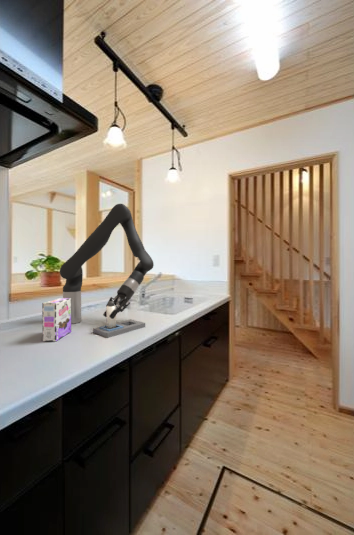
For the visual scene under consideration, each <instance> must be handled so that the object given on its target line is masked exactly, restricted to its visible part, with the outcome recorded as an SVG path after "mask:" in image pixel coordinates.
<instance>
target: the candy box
mask: <svg viewBox="0 0 354 535" xmlns="http://www.w3.org/2000/svg"><path fill="white" fill-rule="evenodd" d="M41 305H42V311H41V312H42V314H41V316H42V323H41V324H42V342H57V341H59V340H60V339H62V338H64V337H65V336H67V335H68V334H71V333H72V324H71V298H63V297H62V298H61V297H58V298H56V299H52V300H49V301H46V302H42V304H41Z"/></svg>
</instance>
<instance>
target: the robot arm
mask: <svg viewBox="0 0 354 535" xmlns="http://www.w3.org/2000/svg"><path fill="white" fill-rule="evenodd" d="M119 224H120V225H121V227H122V229H123V231H124V233H125V236H126V240H127V243H128V247H129V248H130V250H131V254H132V255H133V257H135V258H137V259H138V260H139V262H138V263H137V265H136V266H135V267H134V269H133V271H132V272H131V273H130V275H128V277H127V278H126V279H125V281H124V282H123V283H122V284H121V286H120V287H119V288H118V290H117V291H116V294H117V295H116V296H114V297H112V296H111V297H109V299H108V301H107V303H106V306H108V302H109V301H114V305H116V307H115V310H113V312H112V313H111V314H110V316H109V317H110V318H111V319H113V318H114V317H115V316H116V317H117V315H118V313H122V312H123V311H124V310H125V309H126V308H127V307H128V306H129V305H130V304H131V302H130V300H131V298H132V297H133V296H134V294H135V293H136V292H137V290H138V288H139V286H140V285H141V284H142V282H143V281H144V278H145V276H146V274H147V273H148V272H150V271H152V269H153V268H154V266H155V265H154V260H153V259H152V257H151V255H149V253H148V251H146V249H145V246H144V244H143V242H142V240H141V238H140V236H139V234H138V231H137V229H136V226H135V224H134V219H133V217H132V213H131V210H130V209H129V207H128V206H127V205H126V204H123V203H117V204H115V205H114V206H113V207H112V208H111V209H110V210H109V213H107V215H106V216H105V217H104V219H103V221H102V222H101V223H100V224H99V225H98V226H97V227H96V228H95V229H94V230H93V231H92V233H90V235H89V236H88V237H87V238H86V240H85V241H84V242H83V243H82V244H81V245H80V247H79V248H78V249H77V250H76V251H75V252H74V253H73V254H72V255H71V256H70V258H68V259H67V260H66V261H65V262H64V263H63V264H62V265H61V267H60V269H59V275H60V276H61V277H62V279H64V280H65V283H64V285H63V286H62V298H71V325H72V324H78V323H81V322H82V286H83V278H84V277H83V265H85V263H86V262H88V261H89V260H90V259H92V258H93V257H94V256H96V255H98V254H99V252H101V251H102V249H103V248H104V247H105V246H106V245H107V243H108V242H109V239H110V238H111V235H112V233H113V231H114V229H116V228H117V227H118V226H119ZM106 306H105V307H106ZM102 316H103V317H104V318H107V313H106V310H105V311H104V313H103V314H102Z"/></svg>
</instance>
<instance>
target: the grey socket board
mask: <svg viewBox="0 0 354 535" xmlns="http://www.w3.org/2000/svg"><path fill="white" fill-rule="evenodd" d="M142 328H146V322H143V321H138V320H135V319H125V320H122V321H116V328H113V329H107V324H106V325H101V326H97V327H94V328H93V329H92V332H93V333H94V334H96V335H99V336H101V337H104V338H107V339H108V338H111V337H115V336H119V335H122V334H126V333H129V332H132V331H137V330H139V329H142Z"/></svg>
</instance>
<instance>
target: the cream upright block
mask: <svg viewBox="0 0 354 535" xmlns="http://www.w3.org/2000/svg"><path fill="white" fill-rule="evenodd" d="M108 301H109V300H108ZM108 301H107V303H108V306H105V307H106V310H105V311H106V313H107V317H106V325H107V329H113V328H116V323H117V315H116V316H115V317H114V318H113V319H111V318H110V317H109V316H110V314H111V313H112V312H113V310H115V307H116V305H115V304H114V301H109V302H108Z"/></svg>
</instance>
